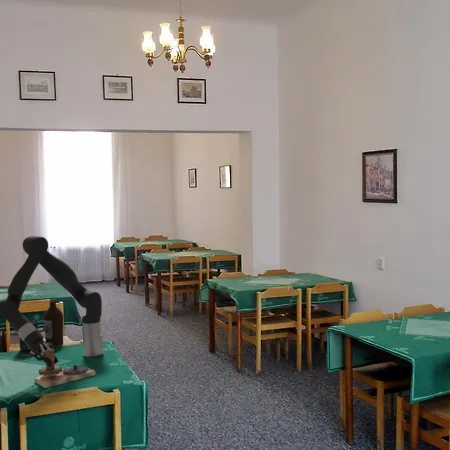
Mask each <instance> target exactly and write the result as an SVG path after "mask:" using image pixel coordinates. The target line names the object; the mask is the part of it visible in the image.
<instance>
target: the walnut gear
mask: <svg viewBox="0 0 450 450" xmlns="http://www.w3.org/2000/svg"><path fill="white" fill-rule="evenodd" d="M46 355H47V357H48V358H49V359H50V360H51V361H52V363H53V364H52V365H51V366H50V367H49V366H48V365H47V364H46V363H45V367H44V366H43V367H41V368H39V369H38V376H47V375H50V376H52V375H55V374H59V373H60V372H62V371H63V367H62V366H61V365H60V366H58V365H56V364H55V363H54V355H55V353H54V349H48V350H46Z"/></svg>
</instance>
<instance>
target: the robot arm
mask: <svg viewBox="0 0 450 450" xmlns="http://www.w3.org/2000/svg"><path fill="white" fill-rule="evenodd" d="M48 249H49V241H48V240H47V238H45V237H44V236H40V235H39V236H38V235H37V236H36V235H35V236H34V235H32V236H31V235H30V236H27V237H26V238H24V240H23V241H22V250H23V251H24V253H26V254H27V258H26V260H25V262H24V263H23V265H22V266H21V267H20V268H19V269H18V271H17V272H16V273H15V274H14V276H13V278H12V280H11V282H10V284H9V286H8V289H7V298H6V299H3V300H1V301H0V314H1V316H2V317H3V318H4V319H5V320H6V321H7V322H8V323H9V324H10V325H11V327H12V328H13V330H14V331H15V332H16V334H18V336H19V339H20V338H21V339H22V340H23V341H24V342H25V344H26V345H27V346H28V347H29V348H32V350H31V352H30V353H29V355H30V356H32V357H33V358H34V359H36V360H37V361H39V362H41V361H42V362H44V363H45V365H46V364H47V365H48V366H49V367H50V366H51V365H52V364H53V363H52V361H51V360H50V359H49V358H48V357H47V355H46V350H48V349H54V363H55V365H56V364H57V363H59V359H58V357H57V356H56V355H55V353H57V351H56V348H55V346H53V344H52V342H49V343H46V341H45V340H44V336H43V334H41V332H40V331H39V329H38V330H37V329H36V328H35V326H34V325H32V324H31V323H30V321H31V320H30V319H28V318H27V317H26V316H25V315H24V314H22V312H21V311H20V310H19V309H20V305H21V303H22V298H23V295H24V293H25V291H26V289H27V286H28V284H29V282H30V280H31V278H32V276H33V274H34V272H35V271H36V269H37V268H38V266H39V265H40V266H41V267H42V268H43V269H44V270H45V271H46V272H47V273H48V274H49V275H50V276H51V277H52V278H53V280H55V281H56V282H57V283H58V284H59V285H60V286H61V287H62V288H64V289H65V290H66V291H67V292H68V293H69V294H70V295H71V296H72V297H73V299H74V300H75V301H76V303H77V304H78V305H79V306H80V307H82V308H84V309H85V315H83V316H82V317H81V324H82V325H81V330H82V353H83V354H82V355H83V356H84V357H85V358H86V357H87V358H90V357H98V356H100V355H103V354H104V341H103V335H102V333H101V332H102V331H101V317H102V312H103V311H102V310H103V309H102V308H103V307H102V306H103V304H102V303H103V301H102V296H101V294H100V293H99V292H97V291H94V290H93V291H92V290H88V288H86V287H85V286H84V285H82V284H81V283H80V281H79V280H78V277H77V274H76V272H75V271H74V269H72V268H71V267H70V266H69V264H67V263H66V262H64V260H62V259H60V258H58V257H57V256H55V255H53V254H52V253H50V252H49V251H48Z"/></svg>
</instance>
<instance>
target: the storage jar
mask: <svg viewBox="0 0 450 450" xmlns="http://www.w3.org/2000/svg"><path fill="white" fill-rule="evenodd" d="M29 321H30V323H31V324H32V325H34V326H35V328H36V329H37V330H38V331H39V325H38V321H36V320H29ZM31 350H32V348H29V347H28V346H27V345H26V344H25V342H24V341H23V340H22V339H21V338H20V337H19V352H20V353H23V354H25V353H26V354H30V352H31Z"/></svg>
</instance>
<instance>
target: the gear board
mask: <svg viewBox="0 0 450 450" xmlns="http://www.w3.org/2000/svg"><path fill="white" fill-rule="evenodd" d="M92 376H93V377H94V376H96V370H94V369H92V368H90V367H88V366H86V365H78V364H75V365H73V366H72V365H71V366H69V367H65V368H64V369H62V372H60V373H59V374H55V375H52V376H50V375H47V376H43V375H38V376H35V377H34V383H35V384H37V385H39V386H40V387H42V388H44V389H46V388H51V387H55V386H58V385H62V384H66V383H70V382H73V381H77V380H82V379H85V378H89V377H92Z"/></svg>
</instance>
